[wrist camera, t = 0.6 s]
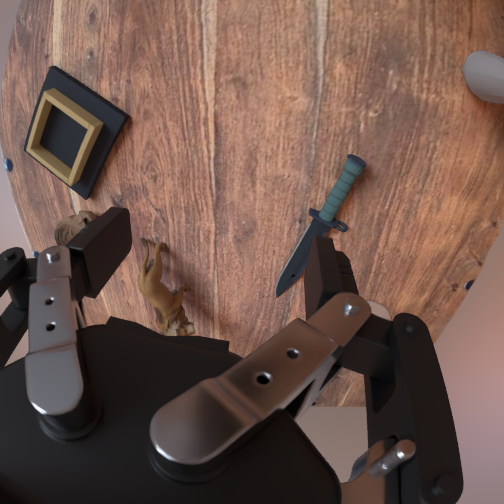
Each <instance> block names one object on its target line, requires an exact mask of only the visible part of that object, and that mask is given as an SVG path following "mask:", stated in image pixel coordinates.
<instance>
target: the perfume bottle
mask: <svg viewBox="0 0 504 504" xmlns="http://www.w3.org/2000/svg"><path fill="white" fill-rule="evenodd" d="M366 301H367V302H368V303H369V304H370V306H371V313H373V314H374V315H376V316H379V317H382V318H384V319H387V320H390V321H391V315H390V313H389V311H388V310H387V309H386V308H385V307H384V306H383V305H381V304H379V303H377V302H373V301H368V300H366Z"/></svg>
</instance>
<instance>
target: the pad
mask: <svg viewBox="0 0 504 504" xmlns="http://www.w3.org/2000/svg"><path fill="white" fill-rule="evenodd" d="M128 117H129V115H127V114H126V113H124V112H123V111H122V110H120V109H119V108H117V107H116V106H114V105H113V104H111V103H110V102H109V101H107V100H106V99H104V98H103V97H101V96H100V95H98V94H97V93H95V92H94V91H92V90H91V89H89V88H88V87H87V86H85V85H84V84H82V83H81V82H79V81H78V80H76V79H75V78H73V77H72V76H70V75H68V74H67V73H65V72H64V71H62V70H61V69H59V68H58V67H56V66H52V67H50V69H49V71H48V74H47V76H46V79H45V81H44V84H43V87H42V90H41V92H40V95H39V98H38V101H37V104H36V107H35V110H34V113H33V117H32V120H31V123H30V127H29V130H28V134H27V138H26V142H25V146H24V151H25V152H27V153H28V154H29V155H30V156H31V157H33V158H34V159H35V160H36V161H37V162H39V163H40V164H41V165H42V166H44V167H45V168H46V169H47V170H48V171H50V172H51V173H52V174H53V175H55V176H56V177H57V178H58V179H60V180H61V181H62V182H64V183H65V184H66V185H67V186H69V187H70V188H71V189H72V190H74V191H75V192H76V193H78V194H79V195H80V196H82V197H83V198H84V199H85V200H87V199H88V198H89V197H90V195H91V192H92V190H93V188H94V185H95V183H96V181H97V179H98V176H99V174H100V172H101V170H102V168H103V166H104V163H105V161H106V159H107V157H108V155H109V153H110V151H111V149H112V147H113V145H114V143H115V141H116V139H117V137H118V135H119V133H120V132H121V130H122V128H123V126H124V124H125V122H126V120H127V119H128Z"/></svg>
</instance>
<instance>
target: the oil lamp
mask: <svg viewBox="0 0 504 504" xmlns="http://www.w3.org/2000/svg"><path fill="white" fill-rule="evenodd" d="M94 219H96V216H95V215H94V213H93V212H91V211H79V215H71V216H69V217H67V218H64V219H62V220H61V221H60V222H59V223H58V224H57V225H56V227H55V233H54V235H55V240H56V242H57V245H62V246H65V245H66V244H67V243H68V242H69V241H70V240H71V239H72V238H73V237H74V236H75V235H76V234H77V233H78V232H80V230H82V229H83V228H85V226H86V225H87V224H88V223H89V222H90V221H92V220H94Z"/></svg>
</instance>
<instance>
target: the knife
mask: <svg viewBox="0 0 504 504" xmlns="http://www.w3.org/2000/svg"><path fill="white" fill-rule="evenodd" d="M347 157H348V159H347V161H346V163H345V165H344V171H343V173H342V174H341V176H340V178H339V180H338V181H337V183H336V185H335V186H334V187H333V189H332V190H331V193H330V194H329V196H328V198H327V200H326V202H325V204H324V206H323V208H322V209H321V211H317V210H314V209H312V208H310V210H309V215H310V216H312V217H313V218H314V219H313V220H312V222H311V223H310V224H309V225H308V227H307V228H306V230H305V232H304V234H303V236H302V237H301V239H300V241H299V243H298V244H297V246H296V248H295V250H294V251H293V253H292V255H291V257H290V259H289V260H288V262H287V264H286V265H285V267H284V269H283V271H282V273H281V274H280V276H279V278H278V281H277V284H276V287H275V296H276V298H277V297H278V296H280V295H281V294H282V293H283V292H284V291H285V290H286V289H287V288H288V287H289V286H290V285H291V284H292V283H294V282H295V281H296V280H297V279H298V278H299V276H300V275H301V273H302V272H303V270H304V268H305V267H306V264H307V260H308V256H309V252H310V248H311V244H312V240H313V237H314V235H316V236H322V237H324V236H325V235H326V233H327V232H328V230H329V229H330V227H331V228H337V229H338V230H339V231H341V232H346V231H347V230H348V227H347V225H346V224H344V223H343V222H341V221H337V220H336V219H335V218H334V216H335V214H336V213H337V211H338V210H339V208H340V206H341V205H342V204H343V202H344V200H345V199H346V197H347V194H348V192H349V190H350V188H351V186H352V184H353V183H354V181H355V179H356V177H358V176H359V175H361V173H362V171H363V169H364V168H365V166H366V163H365V162H364V161H363V160H362V159H361V158H359V157H357V156H355V155H352V154H348V156H347ZM338 224H340V225H342V226H343V227H344V228H345V229H343V228H341V227H339V226H338ZM293 274H296V275H295V276H294V277H293V276H292V275H293Z"/></svg>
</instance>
